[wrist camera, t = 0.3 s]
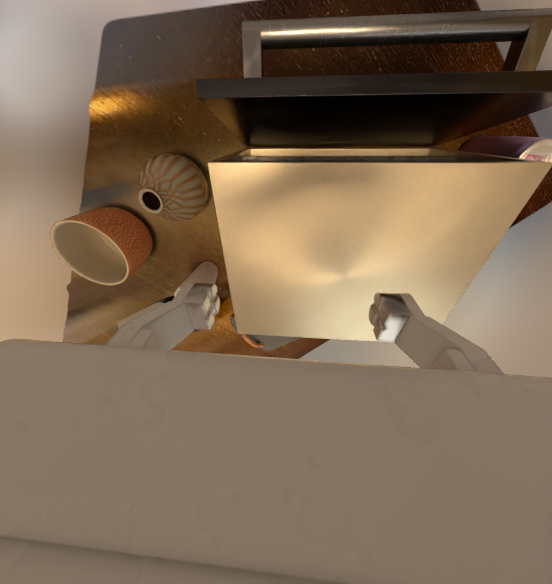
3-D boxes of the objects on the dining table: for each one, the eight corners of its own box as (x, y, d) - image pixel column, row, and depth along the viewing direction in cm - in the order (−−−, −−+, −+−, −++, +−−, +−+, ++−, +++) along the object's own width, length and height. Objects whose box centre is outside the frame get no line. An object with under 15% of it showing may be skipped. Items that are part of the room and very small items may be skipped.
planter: (168, 226, 59) (136, 251, 47) (151, 266, 68) (120, 296, 56) (105, 186, 54) (50, 202, 42) (95, 235, 63) (48, 260, 51)
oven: (246, 148, 47) (207, 162, 26) (433, 147, 44) (554, 162, 23) (255, 270, 66) (237, 333, 46) (385, 275, 64) (428, 344, 43)
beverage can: (467, 133, 42) (533, 134, 30) (496, 138, 42) (573, 141, 30) (448, 167, 46) (501, 180, 34) (475, 171, 46) (537, 185, 34)
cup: (206, 252, 63) (185, 281, 51) (228, 270, 67) (212, 301, 55) (191, 267, 67) (167, 298, 55) (212, 284, 71) (194, 316, 58)
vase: (166, 138, 47) (112, 141, 33) (222, 169, 50) (194, 185, 36) (158, 194, 54) (111, 216, 40) (207, 218, 57) (179, 246, 43)
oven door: (244, 105, 43) (186, 1, 20) (447, 102, 41) (654, -22, 17) (245, 146, 46) (197, 98, 23) (435, 146, 44) (597, 90, 20)
